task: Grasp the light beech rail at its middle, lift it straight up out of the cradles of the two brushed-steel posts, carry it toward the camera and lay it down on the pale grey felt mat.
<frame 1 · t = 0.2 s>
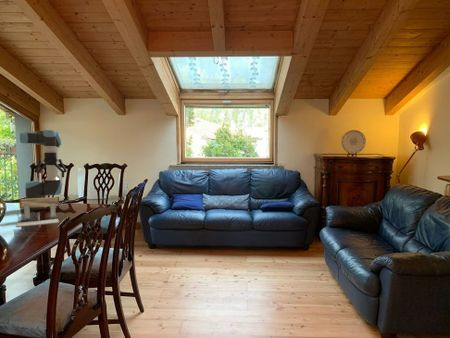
hand: (51, 182, 218), 27 cm above the table, fingers open, 13 cm apart
post near: (27, 220, 218), on the table
rail: (40, 206, 221), point 9 cm above the table, touching post far, post near
post far: (53, 217, 226), on the table
mat: (38, 223, 210), on the table
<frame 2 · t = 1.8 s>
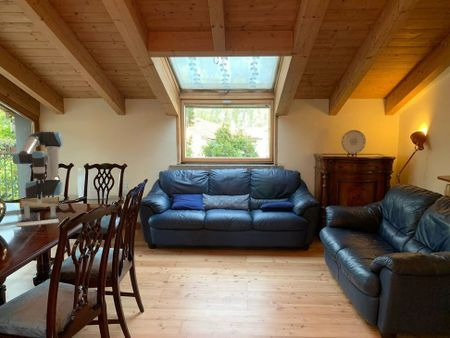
hand: (39, 202, 221), 12 cm above the table, fingers open, 13 cm apart
nothing on the table moved.
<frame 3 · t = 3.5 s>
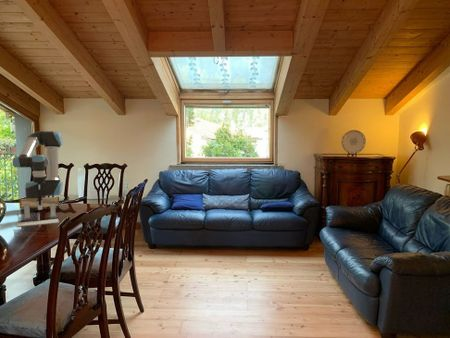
hand: (40, 208, 221), 7 cm above the table, fingers closed on rail, 4 cm apart
rail: (40, 206, 221), point 9 cm above the table, touching gripper, post far, post near
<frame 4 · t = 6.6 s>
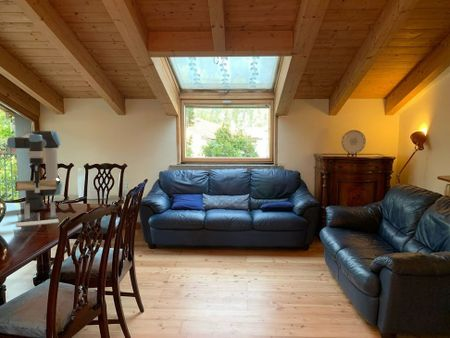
hand: (37, 192, 209), 21 cm above the table, fingers closed on rail, 4 cm apart
rail: (37, 189, 208), point 23 cm above the table, touching gripper
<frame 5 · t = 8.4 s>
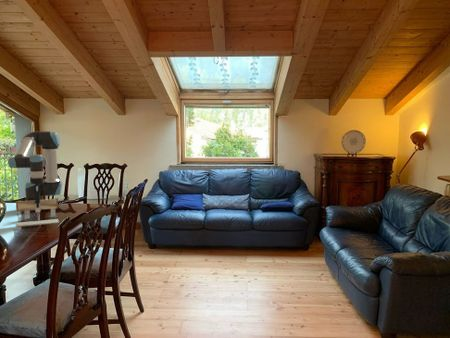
hand: (38, 211, 210), 8 cm above the table, fingers closed on rail, 4 cm apart
rail: (37, 209, 209), point 10 cm above the table, touching gripper
when the fingers open (1 cm above the table, at t = 10.0 s): rail drops 2 cm, resting on mat.
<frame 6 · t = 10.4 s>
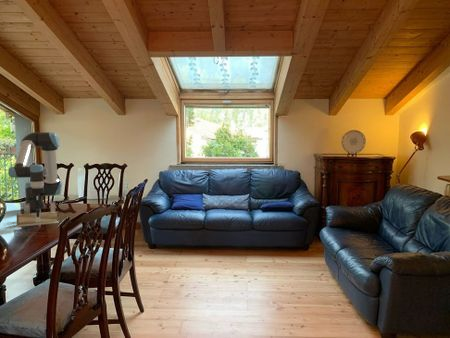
hand: (38, 220, 210), 2 cm above the table, fingers open, 9 cm apart
rail: (38, 222, 210), point 1 cm above the table, touching mat
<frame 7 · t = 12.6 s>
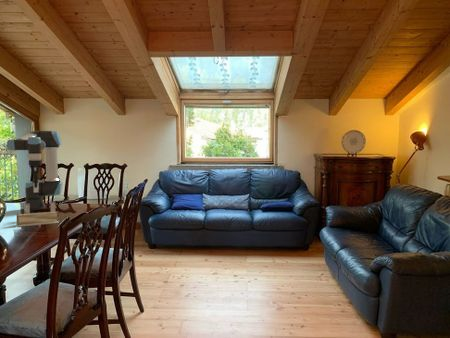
hand: (36, 190, 211), 22 cm above the table, fingers open, 13 cm apart
nothing on the table moved.
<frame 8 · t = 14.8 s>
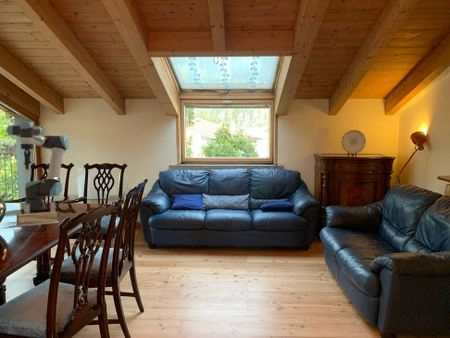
hand: (28, 173, 223), 33 cm above the table, fingers open, 13 cm apart
nothing on the table moved.
at the end: rail inside the target area on the mat (0.2 cm from its centre), point 0.6 cm above the mat's base; the gripper is holding nothing; rail touching mat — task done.
